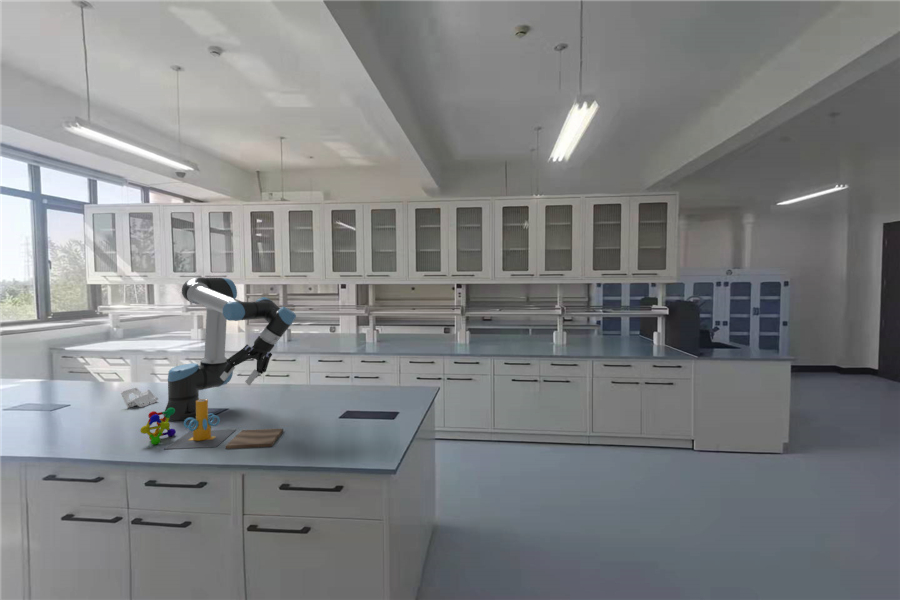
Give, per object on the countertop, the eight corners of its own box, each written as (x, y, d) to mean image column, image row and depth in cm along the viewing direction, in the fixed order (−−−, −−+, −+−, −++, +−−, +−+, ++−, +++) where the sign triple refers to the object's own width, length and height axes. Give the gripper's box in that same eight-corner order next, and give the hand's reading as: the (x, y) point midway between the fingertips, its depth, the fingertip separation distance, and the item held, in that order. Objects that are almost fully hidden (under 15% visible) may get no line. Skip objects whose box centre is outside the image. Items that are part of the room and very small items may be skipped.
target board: (242, 433, 160) (242, 430, 160) (283, 431, 162) (283, 428, 162) (225, 448, 144) (225, 445, 144) (271, 446, 146) (271, 443, 146)
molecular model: (157, 445, 146) (157, 415, 146) (138, 445, 146) (138, 415, 146) (178, 435, 158) (178, 406, 158) (161, 435, 158) (161, 406, 158)
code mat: (189, 431, 161) (189, 431, 161) (235, 429, 163) (235, 429, 163) (163, 449, 143) (163, 448, 143) (216, 447, 146) (216, 446, 146)
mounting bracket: (149, 405, 204) (141, 386, 204) (159, 400, 203) (151, 381, 203) (129, 412, 192) (120, 392, 192) (140, 407, 191) (131, 387, 191)
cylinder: (200, 445, 146) (200, 405, 146) (177, 443, 148) (177, 404, 148) (225, 433, 158) (225, 397, 158) (203, 431, 160) (203, 395, 160)
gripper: (250, 337, 153) (215, 382, 150) (291, 350, 175) (261, 390, 173) (240, 327, 156) (205, 371, 154) (281, 342, 179) (252, 380, 176)
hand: (235, 381), depth 163 cm, fingers open, 13 cm apart
